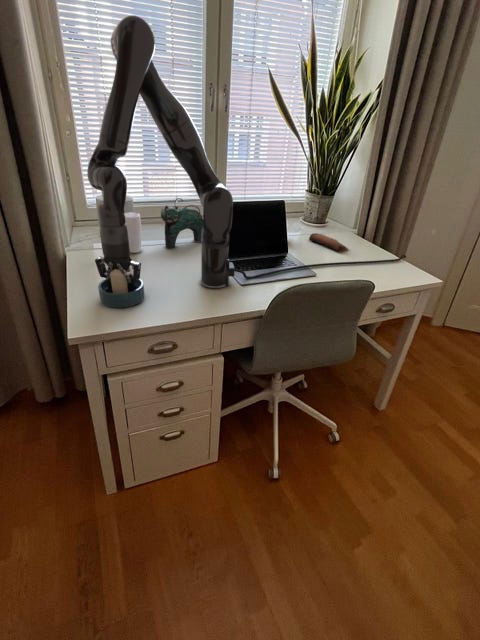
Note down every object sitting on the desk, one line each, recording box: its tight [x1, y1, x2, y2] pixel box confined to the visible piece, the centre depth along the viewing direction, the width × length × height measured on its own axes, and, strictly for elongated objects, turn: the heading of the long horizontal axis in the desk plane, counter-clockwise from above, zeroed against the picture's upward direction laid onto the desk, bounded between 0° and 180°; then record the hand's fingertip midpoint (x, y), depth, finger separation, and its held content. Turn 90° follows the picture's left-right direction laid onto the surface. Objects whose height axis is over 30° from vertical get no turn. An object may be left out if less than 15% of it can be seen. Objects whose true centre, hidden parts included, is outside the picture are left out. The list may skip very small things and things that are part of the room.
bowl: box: [97, 278, 145, 309], centre depth 108 cm, size 13×13×5 cm
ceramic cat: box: [160, 197, 203, 249], centre depth 149 cm, size 20×6×20 cm, turn 129°
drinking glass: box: [125, 212, 143, 254], centre depth 140 cm, size 7×7×15 cm
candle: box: [110, 269, 128, 294], centre depth 107 cm, size 6×6×10 cm
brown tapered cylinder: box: [308, 232, 349, 253], centre depth 163 cm, size 18×7×7 cm
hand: (121, 291), depth 108 cm, fingers closed on candle, 5 cm apart
